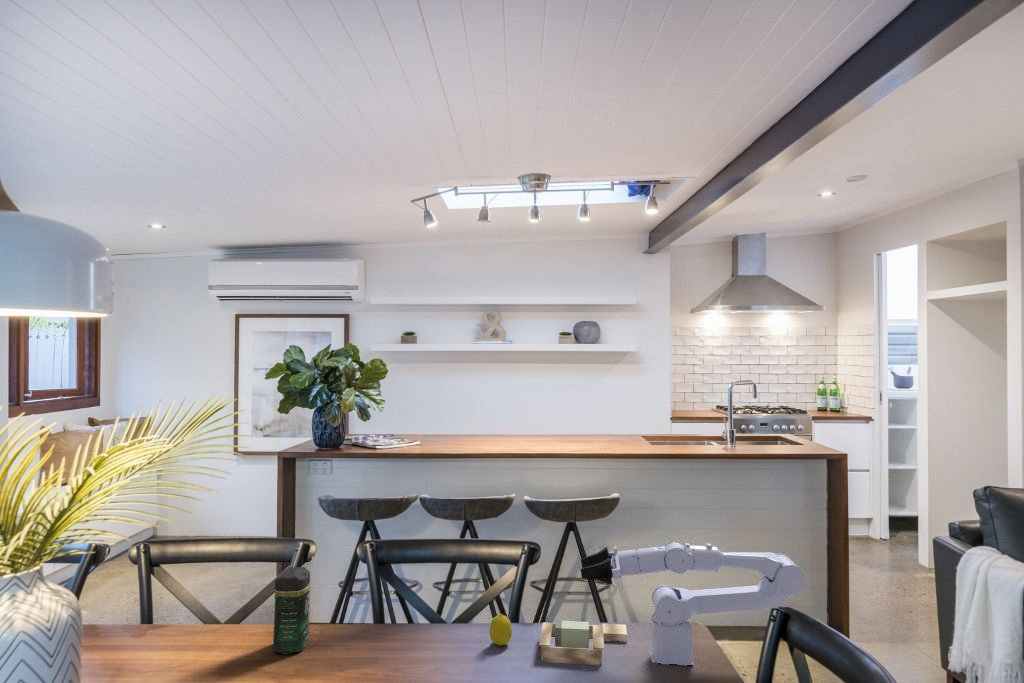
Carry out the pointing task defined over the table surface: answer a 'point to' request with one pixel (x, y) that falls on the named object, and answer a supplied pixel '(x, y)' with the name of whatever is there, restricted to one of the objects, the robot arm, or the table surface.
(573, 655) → the wooden tray
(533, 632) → the table surface
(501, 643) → the lemon
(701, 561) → the robot arm
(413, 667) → the table surface
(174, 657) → the table surface
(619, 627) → the oak stand
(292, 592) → the coffee jar
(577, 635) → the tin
